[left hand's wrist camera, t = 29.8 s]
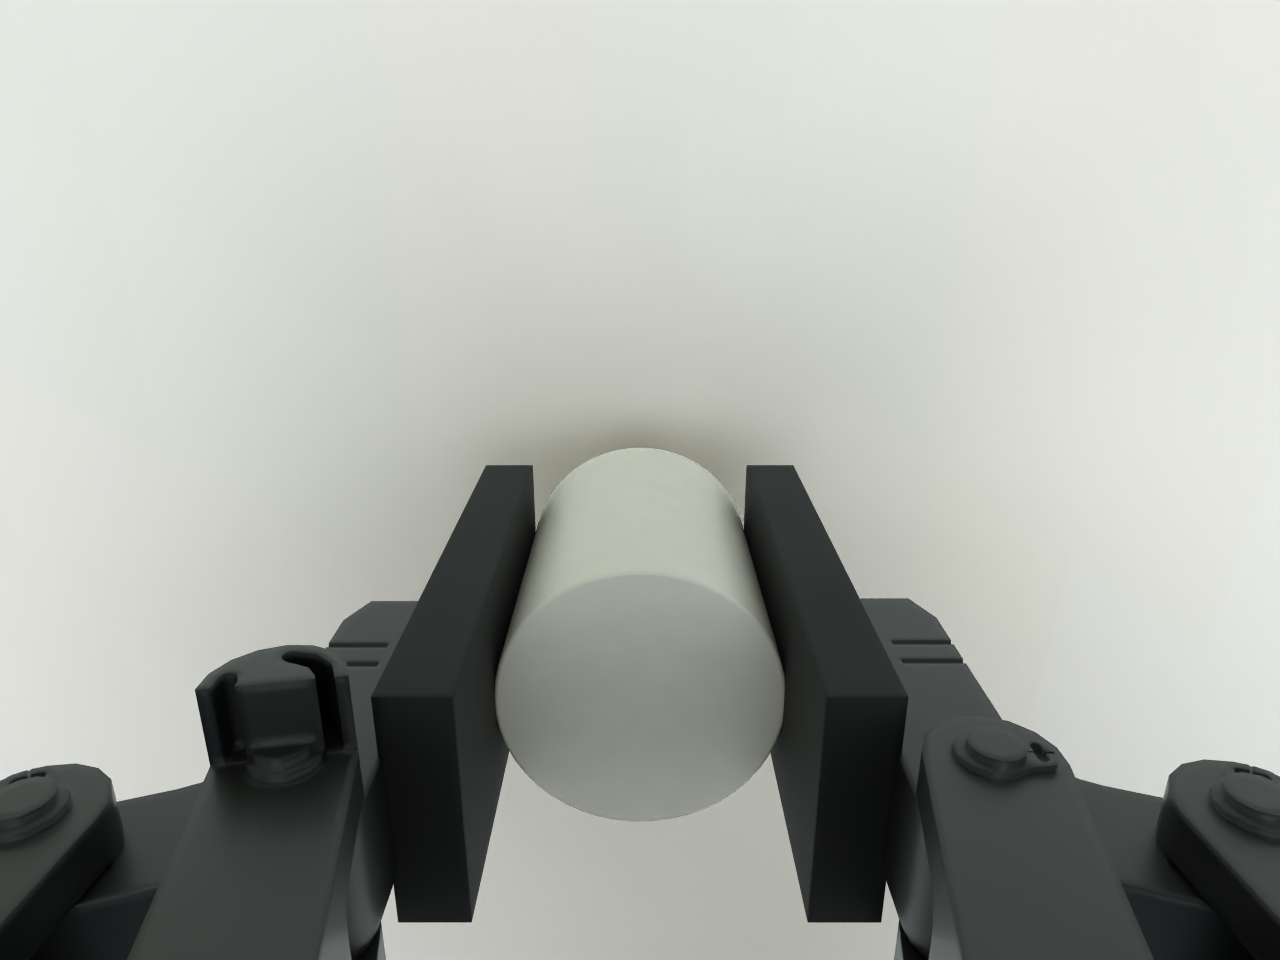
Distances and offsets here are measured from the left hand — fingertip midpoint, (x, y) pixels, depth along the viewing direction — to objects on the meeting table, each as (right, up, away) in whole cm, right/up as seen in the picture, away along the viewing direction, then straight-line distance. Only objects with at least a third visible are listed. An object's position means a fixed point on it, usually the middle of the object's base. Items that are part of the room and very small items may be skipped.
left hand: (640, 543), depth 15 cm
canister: (0, 0, 0) cm, 0 cm away
